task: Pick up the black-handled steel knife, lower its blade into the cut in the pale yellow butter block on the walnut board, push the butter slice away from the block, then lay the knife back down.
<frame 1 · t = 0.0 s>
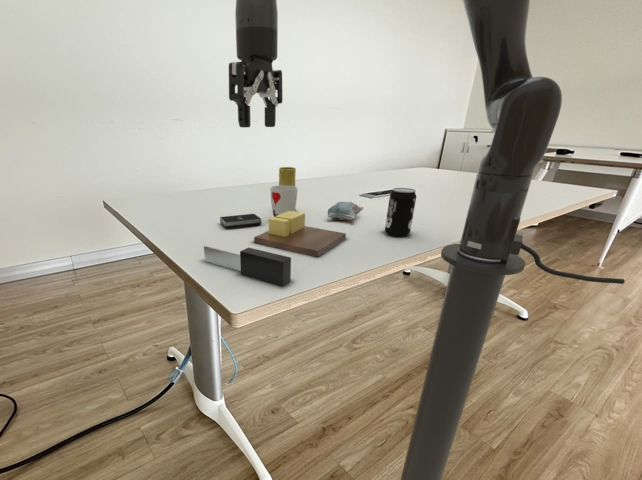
hand: (258, 127, 68), 27 cm above the table, tool pointing down, fingers open, 8 cm apart
board: (300, 240, 89), on the table
external hard drive: (241, 225, 102), on the table
butter slice: (278, 234, 88), point 1 cm above the table, touching board
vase: (286, 212, 116), on the table
packaged food: (345, 219, 109), on the table
butter: (290, 229, 93), point 1 cm above the table, touching board
cup: (283, 221, 106), on the table
knife: (245, 272, 70), on the table
beverage can: (396, 234, 94), on the table
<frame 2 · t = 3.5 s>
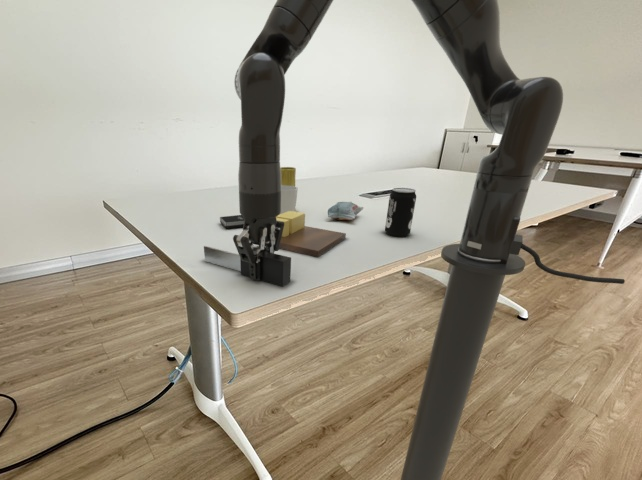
hand: (261, 276, 68), 0 cm above the table, tool pointing down, fingers closed on knife, 3 cm apart
knife: (245, 272, 70), on the table, touching gripper
everything else where it was.
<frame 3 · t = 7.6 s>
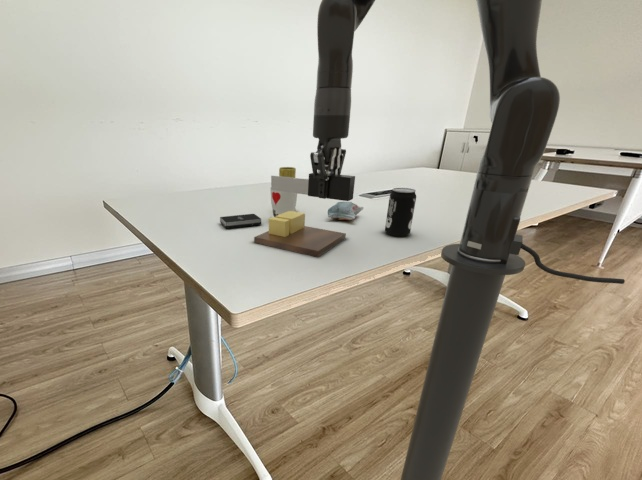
hand: (326, 196, 79), 12 cm above the table, tool pointing down, fingers closed on knife, 3 cm apart
knife: (310, 194, 81), point 12 cm above the table, touching gripper
everything else where it was.
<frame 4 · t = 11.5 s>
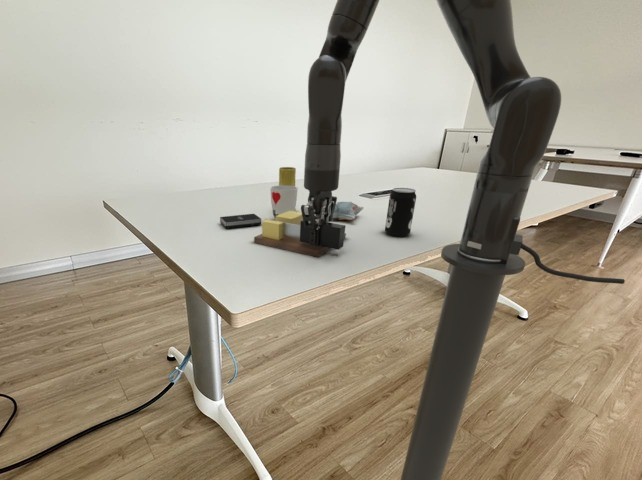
hand: (317, 242, 81), 2 cm above the table, tool pointing down, fingers closed on knife, 3 cm apart
butter slice: (272, 237, 86), point 2 cm above the table, touching board, knife
knife: (302, 239, 83), point 2 cm above the table, touching butter slice, gripper
everything else where it was.
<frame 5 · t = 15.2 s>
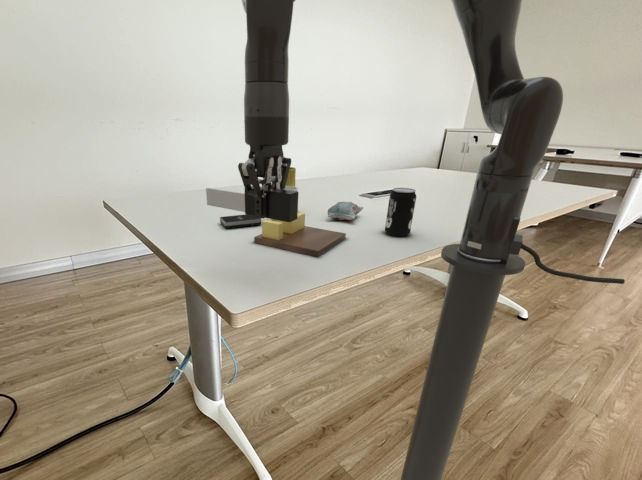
hand: (266, 215, 65), 12 cm above the table, tool pointing down, fingers closed on knife, 3 cm apart
butter slice: (272, 237, 86), point 1 cm above the table, touching board
knife: (249, 212, 67), point 12 cm above the table, touching gripper
everything else where it was.
when the fingers open (0 cm above the table, at t = 18.0 s): knife stays where it is, on the table.
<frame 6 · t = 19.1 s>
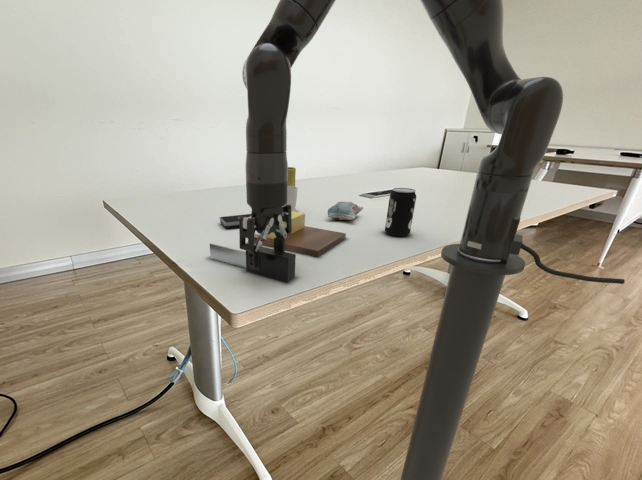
hand: (267, 261, 69), 3 cm above the table, tool pointing down, fingers open, 8 cm apart
knife: (250, 268, 72), on the table
everything else where it was.
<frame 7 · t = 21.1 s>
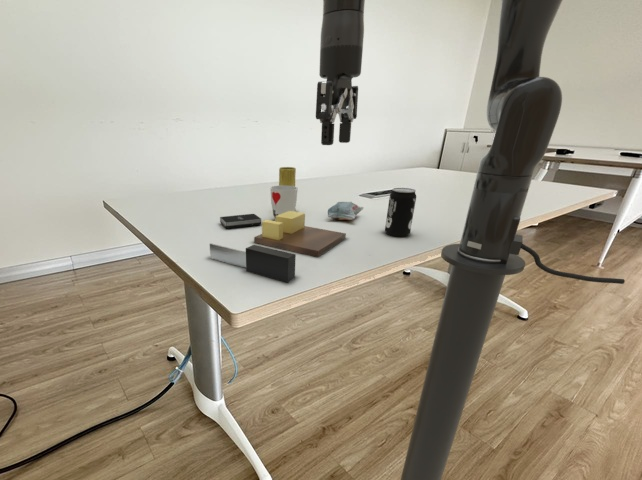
hand: (336, 143, 68), 24 cm above the table, tool pointing down, fingers open, 8 cm apart
nothing on the table moved.
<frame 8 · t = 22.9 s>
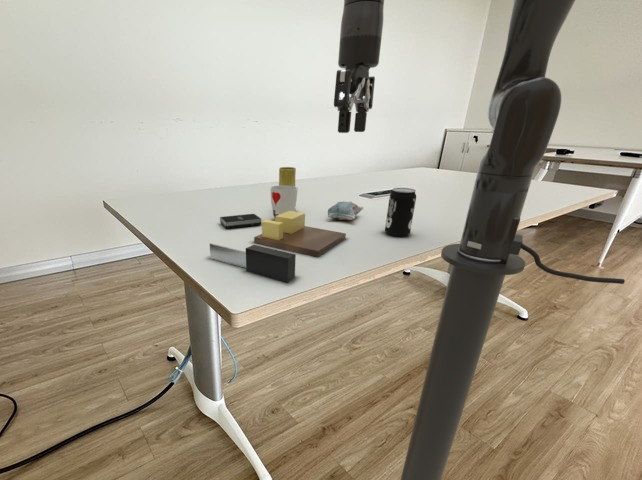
hand: (351, 132, 70), 26 cm above the table, tool pointing down, fingers open, 8 cm apart
nothing on the table moved.
at the end: butter slice 0.3 cm from the target spot on the board, point 1.5 cm above the board's base; butter moved 0.0 cm from its start; the gripper is holding nothing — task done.
